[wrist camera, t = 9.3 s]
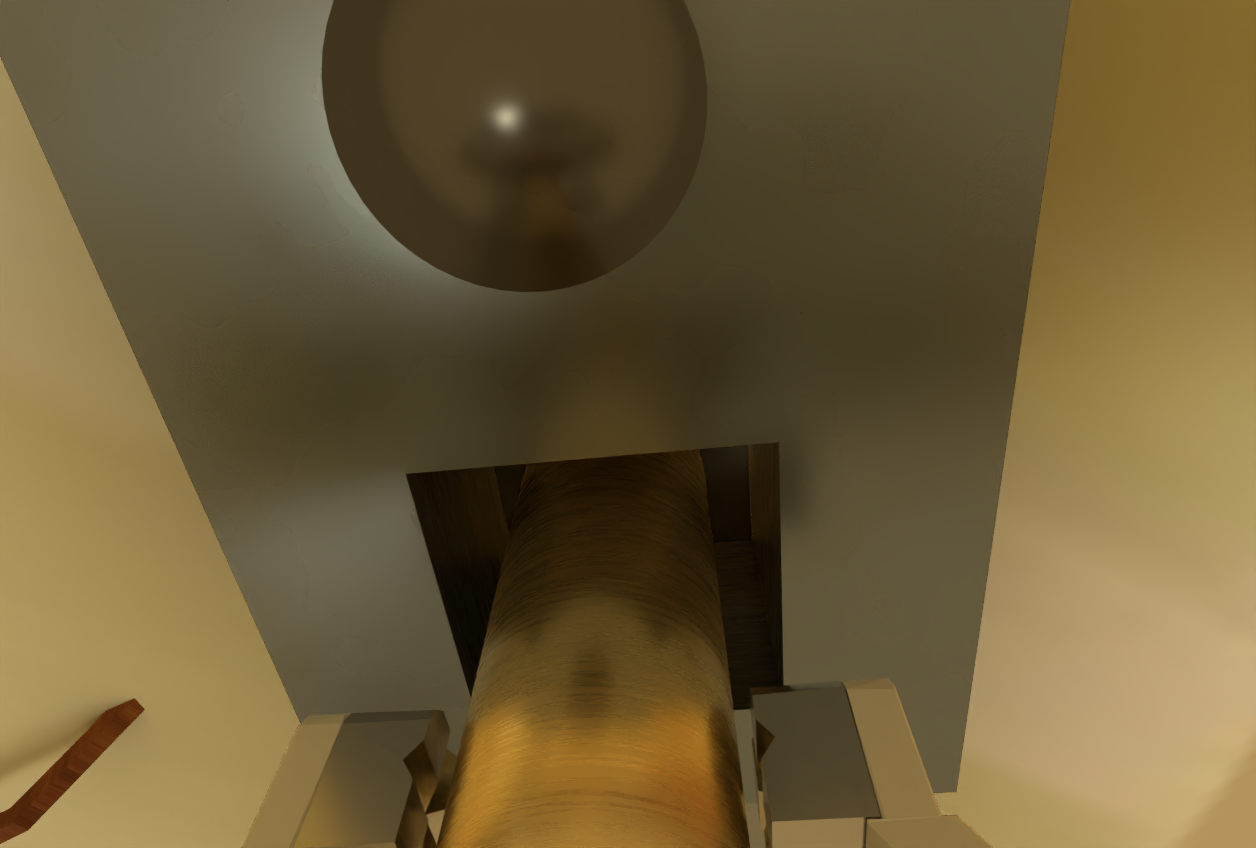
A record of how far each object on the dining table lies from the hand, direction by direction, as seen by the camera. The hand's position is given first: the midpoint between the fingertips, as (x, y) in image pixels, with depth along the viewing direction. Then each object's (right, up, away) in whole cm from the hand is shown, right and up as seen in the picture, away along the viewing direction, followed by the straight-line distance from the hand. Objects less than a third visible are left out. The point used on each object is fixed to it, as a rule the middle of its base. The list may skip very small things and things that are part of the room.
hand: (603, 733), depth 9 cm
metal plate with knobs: (0, +3, +5) cm, 6 cm away
